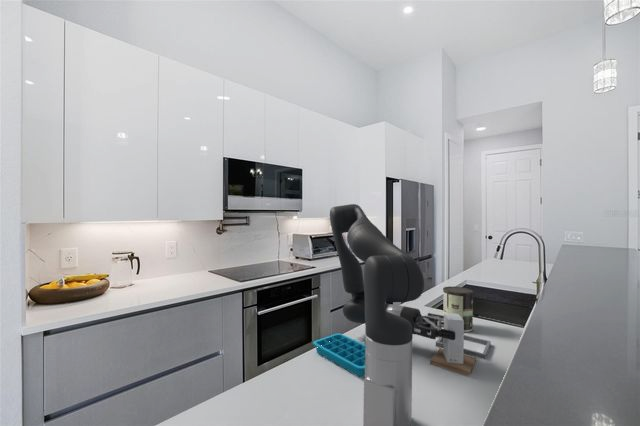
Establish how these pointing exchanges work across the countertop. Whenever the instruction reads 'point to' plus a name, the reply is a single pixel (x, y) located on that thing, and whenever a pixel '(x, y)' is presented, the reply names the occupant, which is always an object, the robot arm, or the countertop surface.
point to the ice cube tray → (343, 352)
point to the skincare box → (455, 347)
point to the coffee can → (459, 304)
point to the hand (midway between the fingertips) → (458, 331)
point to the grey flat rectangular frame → (470, 352)
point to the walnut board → (459, 368)
